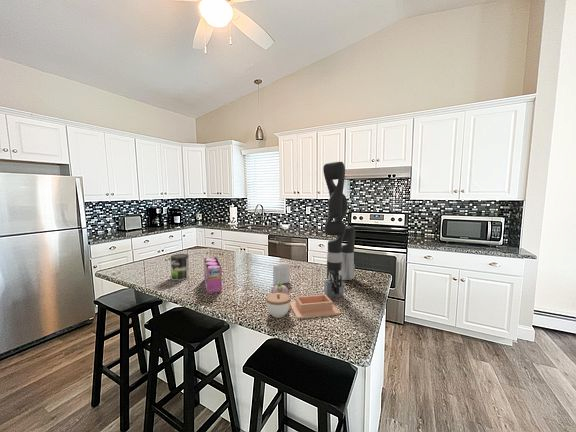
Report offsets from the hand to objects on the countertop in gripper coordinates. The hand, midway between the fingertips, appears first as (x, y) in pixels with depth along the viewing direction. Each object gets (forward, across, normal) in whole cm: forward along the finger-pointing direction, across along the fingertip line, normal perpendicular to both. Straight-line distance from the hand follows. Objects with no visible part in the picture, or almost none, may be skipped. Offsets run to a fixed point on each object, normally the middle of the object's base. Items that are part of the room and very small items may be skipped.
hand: (333, 291), depth 133 cm
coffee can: (+3, +46, +83) cm, 95 cm away
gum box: (+3, +29, +62) cm, 69 cm away
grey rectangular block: (+3, 0, 0) cm, 3 cm away
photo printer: (+3, +24, +23) cm, 33 cm away
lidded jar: (+3, -14, +32) cm, 35 cm away
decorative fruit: (+3, -3, +29) cm, 29 cm away
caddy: (+3, -12, +15) cm, 19 cm away
